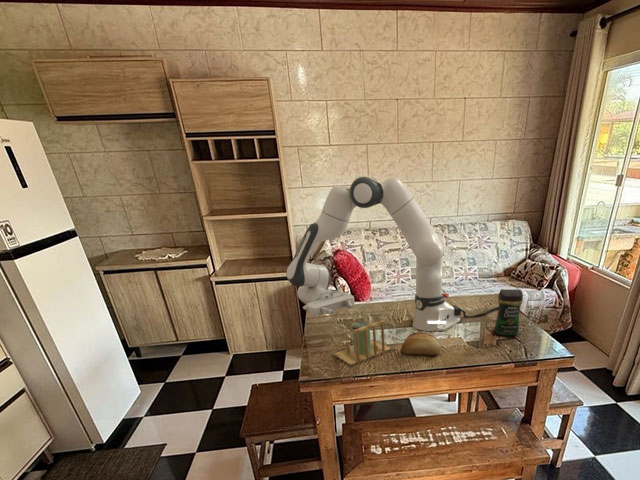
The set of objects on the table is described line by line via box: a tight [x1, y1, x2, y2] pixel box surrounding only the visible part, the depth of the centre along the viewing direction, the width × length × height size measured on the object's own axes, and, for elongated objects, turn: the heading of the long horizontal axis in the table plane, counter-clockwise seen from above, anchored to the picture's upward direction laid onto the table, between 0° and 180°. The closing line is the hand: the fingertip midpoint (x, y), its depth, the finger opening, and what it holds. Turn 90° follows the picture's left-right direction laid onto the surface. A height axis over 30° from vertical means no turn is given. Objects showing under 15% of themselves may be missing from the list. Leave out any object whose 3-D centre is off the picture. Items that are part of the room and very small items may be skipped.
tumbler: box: [351, 320, 372, 355], centre depth 156 cm, size 7×7×11 cm
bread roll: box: [400, 331, 442, 356], centre depth 155 cm, size 10×15×8 cm, turn 87°
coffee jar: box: [494, 288, 524, 337], centre depth 166 cm, size 10×8×19 cm
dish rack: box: [333, 319, 392, 365], centre depth 156 cm, size 20×12×13 cm, turn 130°
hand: (341, 309), depth 160 cm, fingers open, 8 cm apart
